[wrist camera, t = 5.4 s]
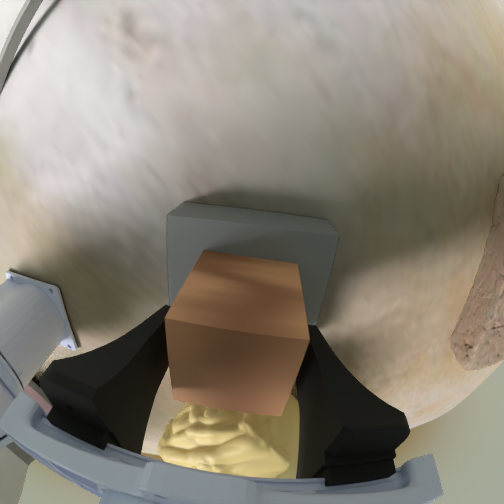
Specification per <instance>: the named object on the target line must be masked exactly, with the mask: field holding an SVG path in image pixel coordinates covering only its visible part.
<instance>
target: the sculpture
mask: <svg viewBox="0 0 504 504" xmlns="http://www.w3.org/2000/svg"><path fill="white" fill-rule="evenodd" d="M299 420H300V415H299V403H298V401H297V400H296V399H295V397H294V396H293V395H292V394H291V393H290V396H289V398H288V401H287V403H286V406H285V408H284V411H283V413H282V415H281V416H273V415H262V414H253V413H245V412H237V411H230V410H224V409H218V408H212V407H207V406H201V405H196V404H192V403H186V404H185V405H184V406H183V407H182V409H181V410H180V411H179V413H178V414H177V415H176V417H175V418H174V419H171V420H170V421H169V422H168V424H167V425H166V426H165V428H164V433H163V435H162V437H161V439H160V441H159V443H158V452H159V454H160V456H161V457H162V458H163V459H164V462H167V463H171V464H175V465H180V466H184V467H189V468H193V469H198V470H204V471H209V472H215V473H222V474H229V475H237V476H247V477H259V478H278V479H293V478H294V477H295V476H296V472H297V463H298V449H299Z"/></svg>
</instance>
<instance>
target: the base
mask: <svg viewBox="0 0 504 504" xmlns="http://www.w3.org/2000/svg"><path fill="white" fill-rule="evenodd" d="M338 240H339V235H338V234H337V232H336V230H335V229H334V227H333V226H332V224H331V223H330V221H329V220H326V219H320V218H313V217H306V216H299V215H292V214H285V213H277V212H269V211H262V210H253V209H245V208H237V207H228V206H218V205H209V204H199V203H188V202H183V203H182V204H181V205H179V206H178V207H177V208H175V209H174V210H173V211H171V212H170V213H169V214H167V271H168V292H169V306H171V305H172V304H173V302H174V300H175V298H176V297H177V295H178V293H179V291H180V289H181V288H182V286H183V284H184V282H185V281H186V279H187V277H188V276H189V274H190V272H191V270H192V269H193V267H194V265H195V264H196V262H197V260H198V258H199V257H200V255H201V253H202V252H203V250H206V251H213V252H220V253H227V254H234V255H241V256H248V257H255V258H261V259H268V260H275V261H282V262H290V263H297V264H298V270H299V275H300V281H301V287H302V293H303V299H304V305H305V311H306V318H307V324H308V325H316V324H317V320H318V317H319V314H320V310H321V307H322V303H323V300H324V296H325V292H326V289H327V285H328V281H329V277H330V274H331V270H332V266H333V262H334V257H335V253H336V249H337V245H338Z"/></svg>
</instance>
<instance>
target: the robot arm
mask: <svg viewBox="0 0 504 504" xmlns="http://www.w3.org/2000/svg"><path fill="white" fill-rule="evenodd" d="M5 275H6V279H7V280H6V281H5V282H4V283H2V284H1V285H0V451H1V450H2V449H3V448H4V447H5V446H6V445H7V444H9V443H11V442H13V441H14V442H15V443H16V444H17V445H18V446H19V447H20V448H21V449H22V450H24V451H25V452H26V453H28V454H29V455H30V456H32V457H33V458H35V459H36V460H38V461H39V462H40V463H42V464H44V465H45V466H47V467H48V468H50V469H51V470H53V471H54V472H56V473H57V474H59V475H61V476H62V477H64V478H66V479H67V480H69V481H71V482H72V483H74V484H76V485H78V486H80V487H81V488H83V489H85V490H87V491H89V492H91V493H93V494H95V495H97V496H99V497H101V500H100V502H99V504H428V503H430V502H432V501H434V500H436V499H437V498H439V497H441V496H443V490H442V486H441V482H440V478H439V475H438V471H437V468H436V464H435V461H434V458H433V454H428V455H424V456H421V457H417V458H413V459H411V460H409V461H407V462H405V463H404V464H403V465H402V466H401V467H399V468H395V465H394V461H393V459H394V458H395V457H396V453H395V449H396V448H397V447H398V446H399V445H400V444H401V443H402V442H404V441H405V439H406V438H407V437H408V435H409V433H410V429H409V425H408V422H407V419H406V416H405V414H404V413H403V412H401V411H400V410H398V409H396V408H394V407H392V406H391V405H389V404H387V403H386V402H384V401H383V400H381V399H380V398H378V397H377V396H376V395H374V394H373V393H372V392H370V391H369V390H368V389H367V388H366V387H364V386H363V385H362V384H361V383H360V382H359V381H358V380H357V379H356V378H355V377H354V376H353V375H352V374H351V373H350V372H349V371H348V370H347V369H346V368H345V366H344V365H343V364H342V363H341V361H340V360H339V359H338V357H337V356H336V355H335V353H334V352H333V351H332V349H331V348H330V346H329V345H328V343H327V342H326V340H325V339H324V337H323V335H322V334H321V332H320V331H319V329H318V327H317V326H316V325H308V331H309V337H310V341H309V344H308V347H307V350H306V352H305V355H304V358H303V361H302V364H301V367H300V369H299V372H298V375H297V377H296V385H297V394H298V403H299V415H300V420H299V449H298V463H297V472H296V479H278V478H259V477H247V476H237V475H229V474H222V473H215V472H209V471H204V470H198V469H193V468H189V467H184V466H180V465H175V464H171V463H167V462H163V461H160V460H156V459H153V458H150V457H146V456H143V455H141V450H142V445H143V440H144V436H145V431H146V427H147V423H148V419H149V416H150V412H151V409H152V405H153V402H154V399H155V396H156V393H157V390H158V388H159V386H160V384H161V381H162V379H163V377H164V375H165V373H166V371H167V368H168V366H169V360H168V351H167V340H166V329H165V316H166V314H167V313H168V311H169V309H170V307H171V306H168V305H165V306H163V307H162V308H161V309H159V310H158V311H157V312H155V313H154V314H153V315H152V316H150V317H149V318H148V319H146V320H145V321H144V322H142V323H141V324H140V325H138V326H137V327H135V328H134V329H132V330H131V331H129V332H128V333H126V334H125V335H123V336H122V337H120V338H118V339H116V340H114V341H112V342H110V343H108V344H106V345H104V346H102V347H99V348H97V349H95V350H92V351H90V352H87V353H84V354H80V355H77V356H73V357H69V358H64V359H59V360H53V361H52V363H51V364H50V365H49V367H48V368H47V369H46V370H45V372H44V373H43V374H42V376H41V377H40V379H39V382H40V386H41V388H42V390H43V392H44V393H45V395H46V396H47V398H48V399H49V401H50V402H51V404H52V405H53V407H52V408H51V410H50V412H49V413H48V414H47V413H46V412H45V411H44V409H43V408H42V406H41V405H40V404H39V403H38V402H37V401H35V400H34V399H33V398H31V397H29V396H28V395H27V394H26V393H25V391H24V389H25V388H26V386H27V385H28V384H29V382H30V381H31V379H32V378H33V377H34V375H35V374H36V373H37V372H38V370H39V369H40V368H41V366H42V365H43V364H44V362H45V361H46V360H47V359H48V357H49V356H50V355H51V354H52V352H53V351H54V350H55V349H56V348H57V346H58V345H61V346H63V347H66V348H68V349H71V350H73V351H76V350H77V349H78V347H77V344H76V341H75V338H74V336H73V333H72V330H71V327H70V324H69V321H68V317H67V314H66V311H65V307H64V304H63V300H62V297H61V293H60V290H59V288H58V287H57V286H54V285H51V284H48V283H44V282H41V281H38V280H35V279H32V278H28V277H25V276H22V275H19V274H16V273H13V272H11V271H6V272H5Z"/></svg>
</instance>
